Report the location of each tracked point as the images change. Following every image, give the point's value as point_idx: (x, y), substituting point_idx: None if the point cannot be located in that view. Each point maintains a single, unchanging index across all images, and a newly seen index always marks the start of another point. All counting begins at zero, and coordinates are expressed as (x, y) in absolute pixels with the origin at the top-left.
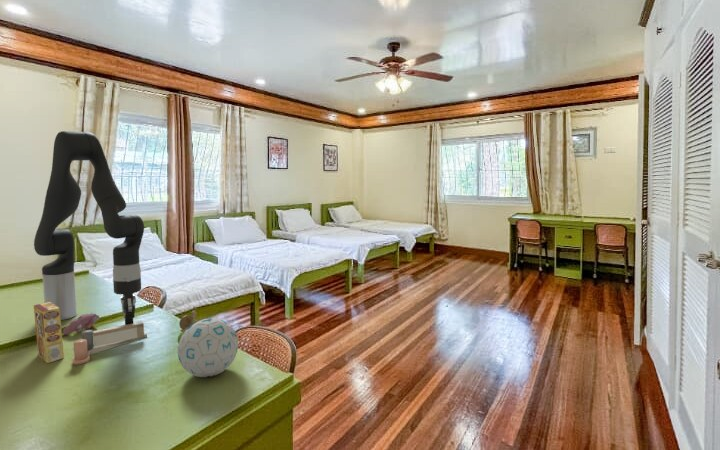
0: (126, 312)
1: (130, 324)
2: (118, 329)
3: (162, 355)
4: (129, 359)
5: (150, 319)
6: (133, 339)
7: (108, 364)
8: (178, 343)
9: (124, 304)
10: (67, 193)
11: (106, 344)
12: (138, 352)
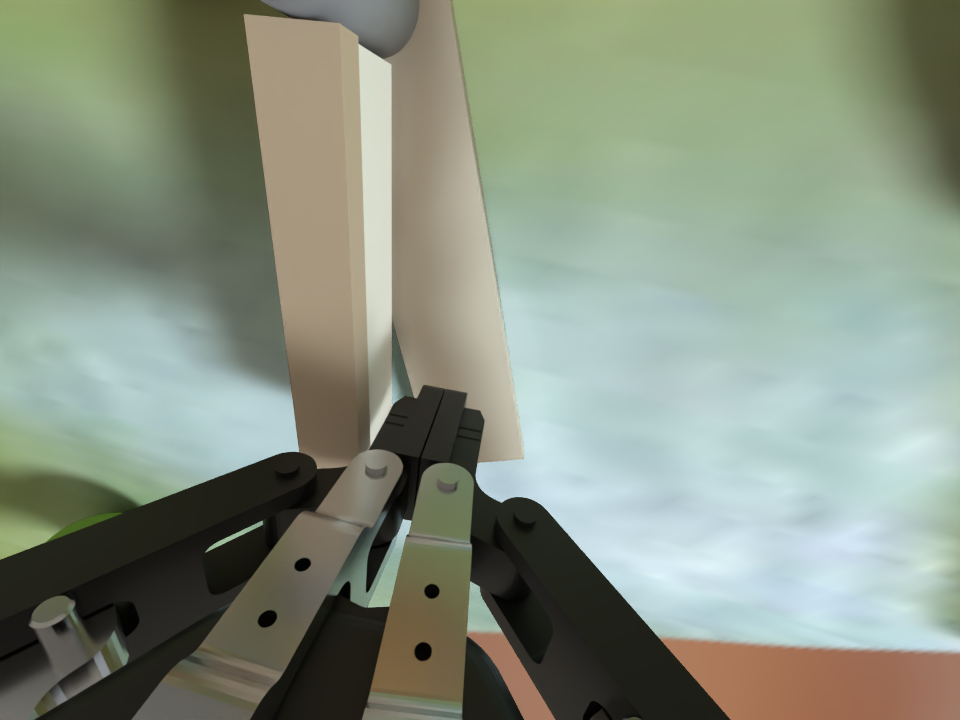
0: (64, 545)
1: (338, 443)
2: (290, 323)
3: (76, 415)
4: (80, 260)
5: (775, 564)
6: (411, 377)
7: (34, 115)
8: (93, 521)
9: (294, 677)
10: None
11: (398, 186)
12: (181, 335)
